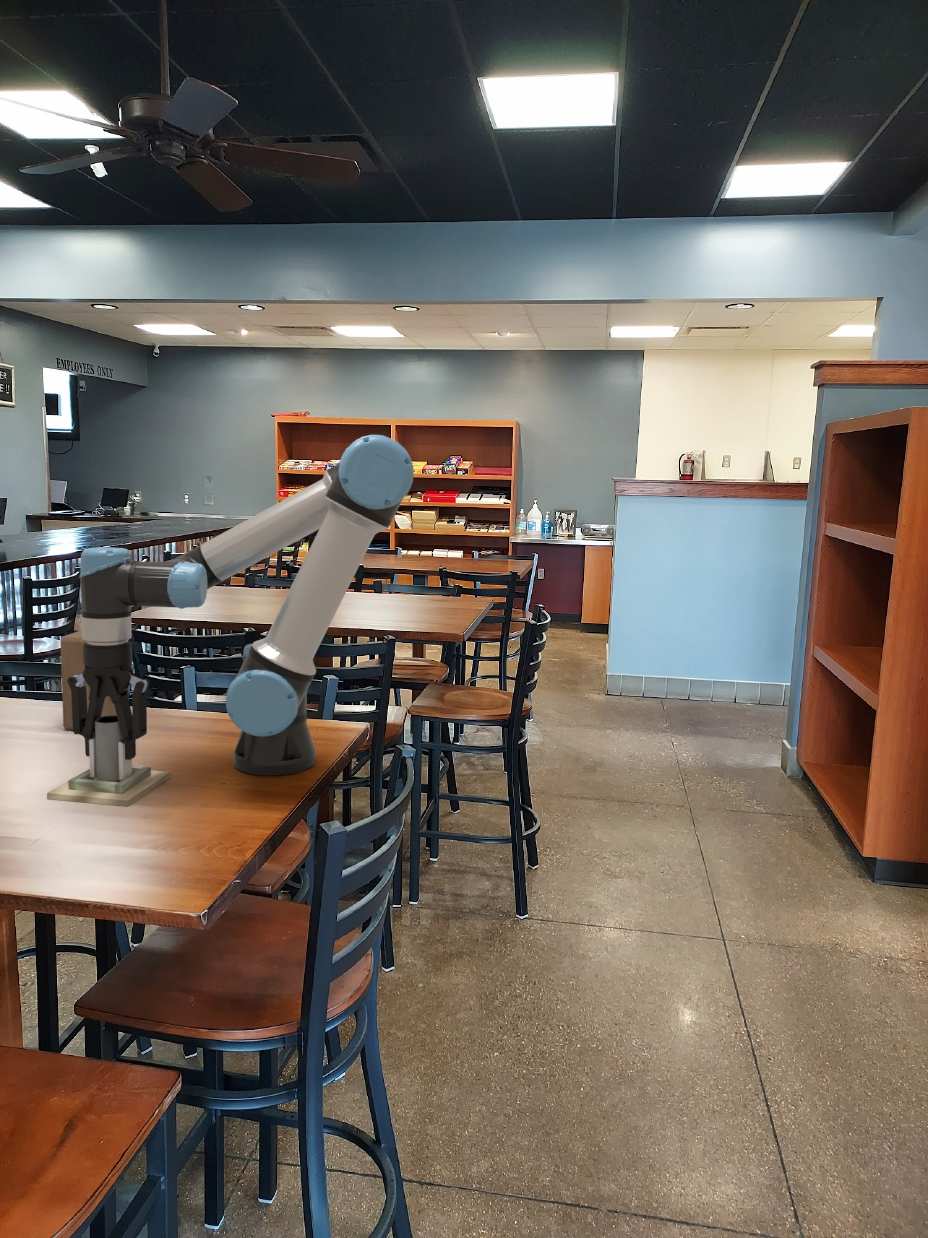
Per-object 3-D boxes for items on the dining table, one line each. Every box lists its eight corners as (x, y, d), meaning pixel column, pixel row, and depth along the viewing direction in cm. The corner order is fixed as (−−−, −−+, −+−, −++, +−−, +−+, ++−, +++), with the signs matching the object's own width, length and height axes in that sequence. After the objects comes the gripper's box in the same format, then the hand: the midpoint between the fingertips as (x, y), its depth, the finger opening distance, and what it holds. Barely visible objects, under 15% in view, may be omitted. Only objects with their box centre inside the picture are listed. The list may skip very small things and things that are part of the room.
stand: (169, 777, 144) (169, 763, 144) (127, 806, 131) (127, 791, 130) (96, 770, 146) (96, 757, 146) (47, 799, 132) (46, 784, 132)
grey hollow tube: (131, 776, 139) (130, 717, 138) (110, 784, 135) (108, 724, 134) (112, 771, 141) (110, 713, 140) (90, 779, 137) (88, 720, 136)
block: (109, 733, 169) (106, 638, 166) (61, 730, 169) (58, 636, 166) (129, 719, 179) (127, 630, 176) (84, 718, 179) (81, 628, 176)
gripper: (168, 640, 137) (170, 772, 141) (71, 634, 139) (76, 764, 143) (145, 648, 130) (148, 787, 133) (43, 641, 132) (49, 779, 136)
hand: (111, 775), depth 138 cm, fingers closed on grey hollow tube, 4 cm apart
